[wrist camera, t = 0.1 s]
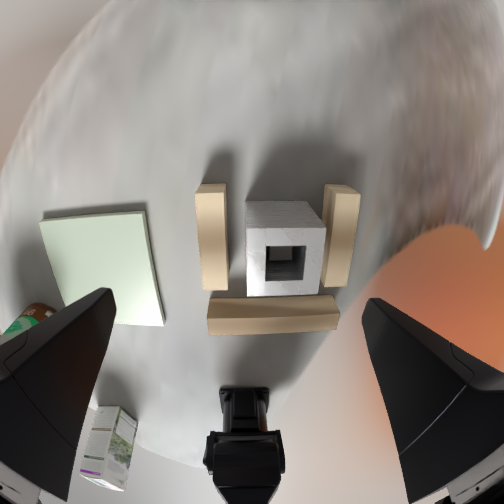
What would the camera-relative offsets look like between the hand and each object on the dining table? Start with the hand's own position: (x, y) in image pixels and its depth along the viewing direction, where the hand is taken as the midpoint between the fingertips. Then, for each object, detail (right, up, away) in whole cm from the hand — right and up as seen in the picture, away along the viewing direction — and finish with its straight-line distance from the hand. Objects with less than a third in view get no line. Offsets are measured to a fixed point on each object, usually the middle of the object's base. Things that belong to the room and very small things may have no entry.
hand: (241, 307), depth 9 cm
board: (-15, 0, +16) cm, 21 cm away
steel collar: (+2, +4, +14) cm, 15 cm away
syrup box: (-23, -26, +29) cm, 45 cm away
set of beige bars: (+2, +1, +16) cm, 16 cm away
